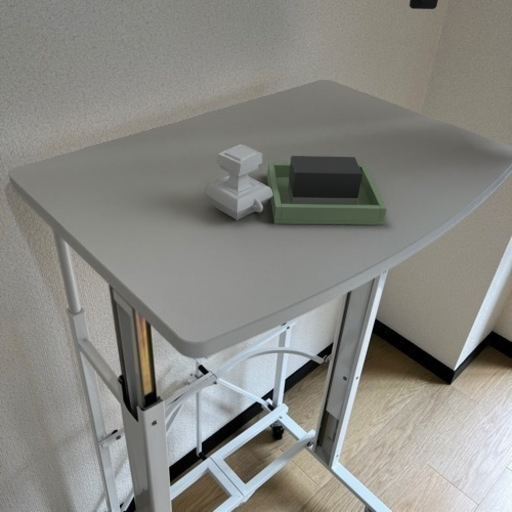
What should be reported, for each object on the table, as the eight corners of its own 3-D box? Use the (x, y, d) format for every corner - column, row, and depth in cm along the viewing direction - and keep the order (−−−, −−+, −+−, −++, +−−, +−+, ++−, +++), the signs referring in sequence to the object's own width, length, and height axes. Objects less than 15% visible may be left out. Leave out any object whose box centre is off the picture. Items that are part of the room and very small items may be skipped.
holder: (362, 179, 83) (365, 164, 82) (383, 225, 73) (386, 208, 72) (266, 178, 82) (268, 162, 81) (274, 223, 72) (275, 206, 70)
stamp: (196, 205, 75) (196, 148, 70) (232, 189, 79) (233, 134, 74) (243, 233, 70) (246, 173, 65) (278, 214, 74) (283, 157, 69)
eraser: (349, 188, 80) (355, 156, 77) (356, 206, 76) (362, 173, 73) (287, 187, 79) (290, 155, 76) (291, 205, 75) (295, 172, 72)
